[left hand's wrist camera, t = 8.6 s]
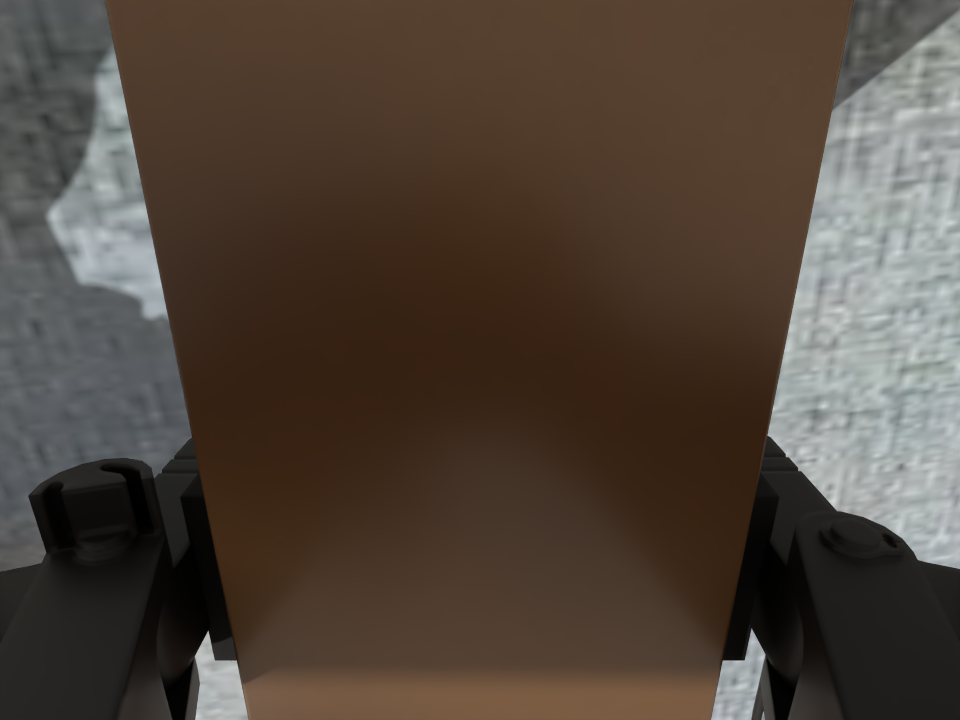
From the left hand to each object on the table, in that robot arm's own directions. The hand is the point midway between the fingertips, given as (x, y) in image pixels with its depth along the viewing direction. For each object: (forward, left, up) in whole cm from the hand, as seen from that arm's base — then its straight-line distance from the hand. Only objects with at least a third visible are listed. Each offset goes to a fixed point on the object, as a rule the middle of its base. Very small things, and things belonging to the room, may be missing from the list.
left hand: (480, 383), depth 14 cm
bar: (+10, +10, -1) cm, 14 cm away
